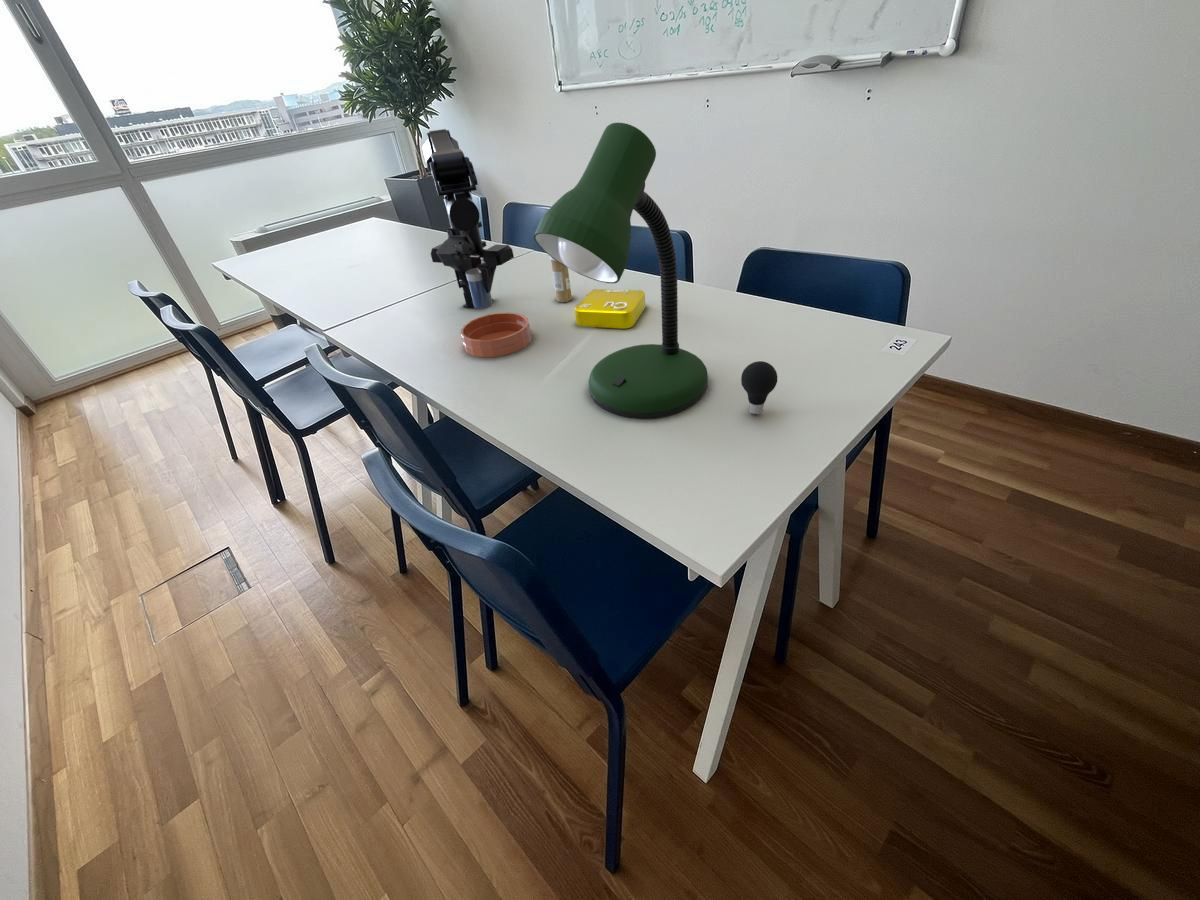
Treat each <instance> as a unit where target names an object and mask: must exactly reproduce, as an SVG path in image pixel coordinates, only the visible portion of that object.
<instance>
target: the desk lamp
mask: <svg viewBox="0 0 1200 900" xmlns="http://www.w3.org/2000/svg"><path fill="white" fill-rule="evenodd" d="M602 132H603V133H602V134H601V136H600V139H599V141H598V142H597V145H596V147H595V149H594V151H593V153H592V154H591V158H590V160H589V161H588V163H587V166H586V168H585V170H584V171H583V173H582V176H581V177H580V179H579V180H578V182H577V183H576V185H575V186H574V187H573V188H572V189H570V190H568V191H567V192H566V193H564V194H563V195H561V196H560V198H558V199H557V200H556V202H555V203H554V204H552V205H551V207H549V209H548V210H547V211H546V212H545V213H544V214H543V215H542V217H541V219H540V221H539V223H538V225H537V227H536V229H535V232H534V234H533V241H535V243H536V244H537V245H538V246H539V247H540V249H541V250H542V251H544V252H545V254H547V255H548V256H549V257H550V256H551V257H552V258H553V259H555V260H556V261H558V262H559V263H561V264H562V265H564V266H565V267H567V268H568V270H570V271H572V272H574V273H577V274H578V275H580V276H583V277H585V278H588V279H591V280H593V281H596V282H599V283H600V282H601V283H604V284H605V283H606V284H617V283H619V282H620V280H621V278H622V276H623V274H624V271H625V269H626V268H627V266H628V260H629V254H630V253H629V252H630V247H631V239H632V238H631V237H632V223H631V218H632V214H633V211H635V212H636V213H637V214H638V215H639V216H640V217H641V218H642V219H643V221H644V222H645V224H646V225H647V228H648V229H649V231H650V233H651V236H652V238H653V241H654V245H655V249H656V252H657V257H658V264H659V271H660V272H659V273H660V274H659V275H660V305H661V340H662V343H661V344H658V343H657V344H655V343H650V344H649V343H647V344H637V345H632V346H628V347H624V348H621V349H619V350H616V351H614V352H611V353H610V354H608V355H606V356H605V357H603V358H602V359H600V360H599V361H598V362H597V363H596V364H595V365H594V367H593V368H592V370H591V371H590V372H589V373H590V374H589V378H588V389H589V394H590V397H591V399H592V400H593V402H594V403H595V404H597V405H598V406H599V407H600V408H602V409H603V410H606V411H607V412H609V413H612V414H615V415H617V416H621V417H626V418H630V419H639V420H640V419H641V420H648V419H649V420H651V419H653V420H655V419H661V418H665V417H670V416H673V415H677V414H679V413H681V412H683V411H685V410H687V409H689V408H691V407H692V406H694V405H695V404H697V403H698V402H699V401H700V400H701V399H702V398H703V397H704V396H705V394H706V392H707V390H708V381H709V376H708V369H707V366H706V365H705V363H704V362H703V360H702V359H701V358H700V357H698V356H697V355H696V354H694V353H692V352H690V351H688V350H685V349H683V348H681V347H680V344H679V337H678V336H679V334H678V333H679V330H678V329H679V323H678V322H679V321H678V320H679V319H678V317H679V316H678V314H679V313H678V311H679V310H678V306H679V302H678V301H679V299H678V266H677V257H676V249H675V245H674V240H673V237H672V233H671V229H670V227H669V224H668V221H667V219H666V216H665V215H664V213H663V211H662V210H661V208H660V207H659V205H658V204H657V203H656V201H655V200H654V199H653V198H652V197H651V196H650V195H649V194H648V193H647V192H646V191H645V188H646V180H647V178H648V176H649V174H650V172H651V170H652V167H653V166H654V163H655V161H656V159H657V158H656V157H657V152H656V147H655V145H654V143H653V142H652V141H651V139H650V138H649V137H648V135H646V133H645V132H643V131H642V130H641V129H639V128H638V127H636V126H634V125H632V124H630V123H629V124H628V123H625V122H612V123H610V124H608V125H606V127H605V129H604V131H602Z"/></svg>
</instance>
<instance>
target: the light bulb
mask: <svg viewBox="0 0 1200 900" xmlns="http://www.w3.org/2000/svg"><path fill="white" fill-rule="evenodd" d="M740 378H741V379H740V383H741V386H742V388H743V390H744V391H745V392H746V394H747V400H748V411H749V413H751V414H753V415H755V416H757V415H759V414H762V413H763V411H764V407H765V403H766V401H767V398H768V396H769V394H770V393H771V392H773V391H774V390H775V388H776V386H777V384H778V372H777V370H776V369H775V367H774V366H773V365H772V364H771V363H769V362H767V361H762V360H758V361H754V362H751V363H749V364H748V365H747V366H746V367H745V368H744V369H743V371H742V372H741V377H740Z"/></svg>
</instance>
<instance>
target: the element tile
mask: <svg viewBox="0 0 1200 900" xmlns="http://www.w3.org/2000/svg"><path fill="white" fill-rule="evenodd" d="M645 309H646V293H645V291H644V290H640V289H616V288H615V289H607V288H594V289H592V290H591V291H589V292H588V293H587V294H586V296H584V298H583V299H582V300H580V302H579V303H578V304H577V305H576V307H574V315H575V323H576V325H577V326H579V327H585V328H586V327H588V328H596V329H597V328H598V329H599V328H600V329H617V330H618V329H621V330H626V329H627V330H628V329H631V328H633V327H634V325H635V324H636V323H637V321H638V320H639V318H640V317H641V315H642V313H643V312H644V310H645Z"/></svg>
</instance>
